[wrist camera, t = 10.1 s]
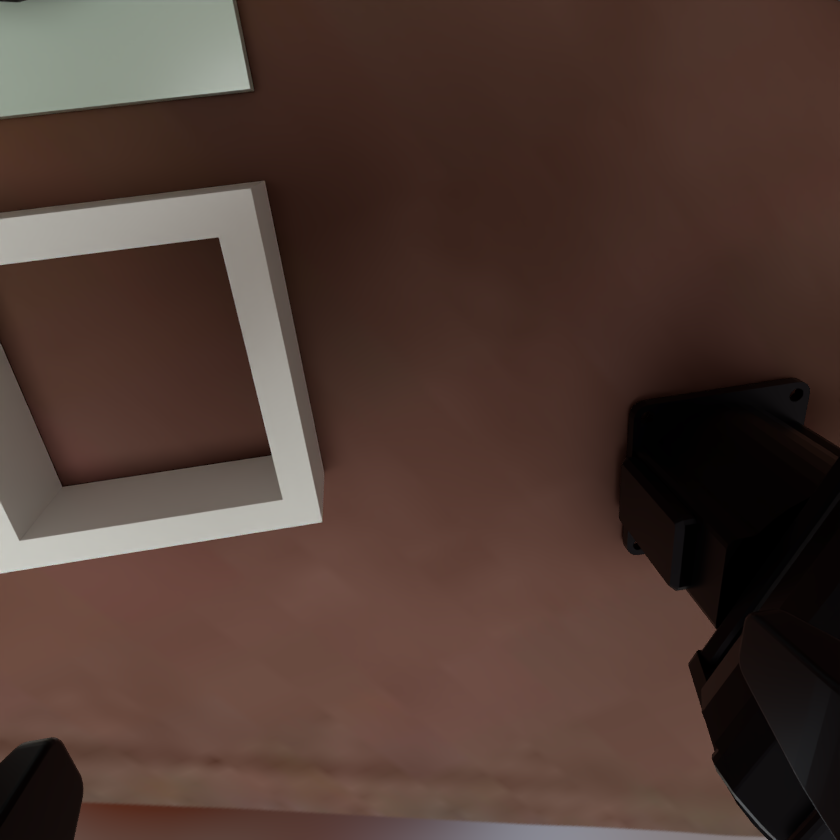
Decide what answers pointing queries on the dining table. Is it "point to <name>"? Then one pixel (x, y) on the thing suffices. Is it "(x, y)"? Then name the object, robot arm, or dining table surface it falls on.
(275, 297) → the shaker holder
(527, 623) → the dining table surface
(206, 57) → the green tile
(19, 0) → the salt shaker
